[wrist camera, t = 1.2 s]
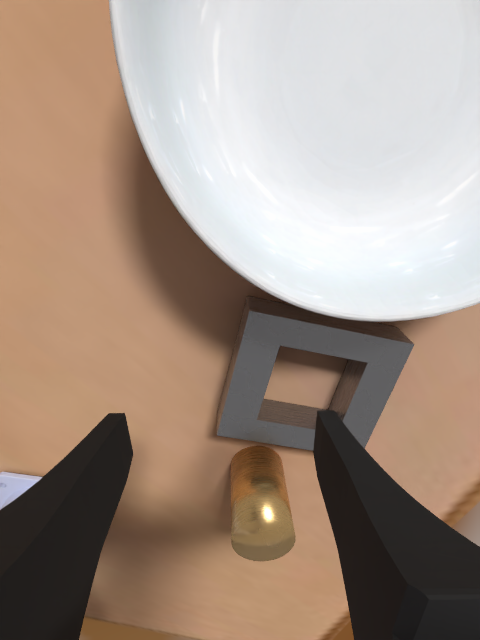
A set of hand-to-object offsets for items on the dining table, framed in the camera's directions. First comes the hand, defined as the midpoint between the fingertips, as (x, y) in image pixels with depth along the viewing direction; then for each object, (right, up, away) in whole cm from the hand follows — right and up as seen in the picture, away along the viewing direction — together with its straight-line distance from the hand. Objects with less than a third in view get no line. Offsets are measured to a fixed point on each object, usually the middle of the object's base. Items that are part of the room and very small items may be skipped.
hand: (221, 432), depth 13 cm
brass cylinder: (+2, -7, +14) cm, 16 cm away
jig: (+5, +1, +11) cm, 12 cm away
